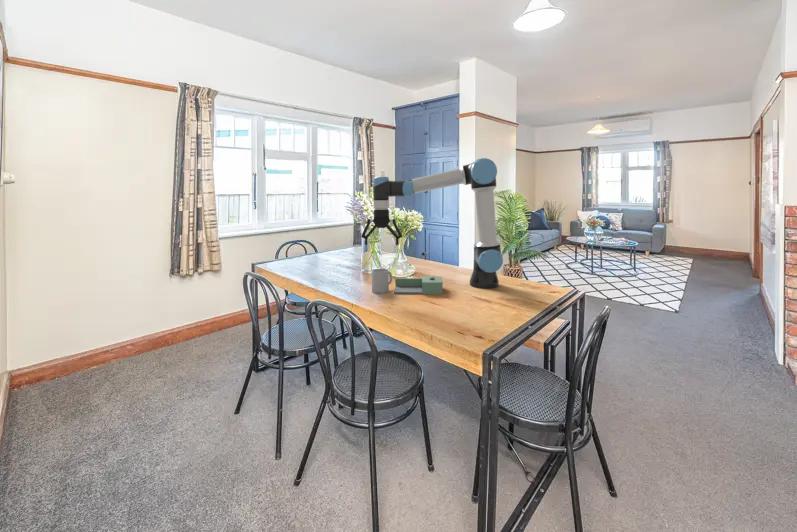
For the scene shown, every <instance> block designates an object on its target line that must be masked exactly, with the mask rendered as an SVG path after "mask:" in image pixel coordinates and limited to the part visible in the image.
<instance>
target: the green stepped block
mask: <svg viewBox="0 0 797 532" xmlns="http://www.w3.org/2000/svg"><path fill="white" fill-rule="evenodd" d="M442 278H443V277H442V276H433V275H432V276H430V275H429V276H426V275H425V276H424V275H423V276H422V277H415V278H414V277H410V278H409V277H406V278H405V277H395V280H394V281H395V283H394V284H395V285H394V290H393V295H443V287H444V286H443V279H442Z"/></svg>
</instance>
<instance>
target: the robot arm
mask: <svg viewBox="0 0 797 532" xmlns="http://www.w3.org/2000/svg"><path fill="white" fill-rule="evenodd" d="M497 175H498V167H497V165H496V163H495V162H494V161H493V160H491V159H489V158H488V157H487V158H486V157H481V158H477V159H476V160H475V161H473V162H471V163H469V164H465V165H462V166H460V167H459V168H457V169H452V170H447V171H442V172H438V173H434V174H430V175H425V176H420V177H415V178H412V179H406V180H390V179H389V176H375V177H373V184H372V185H373V186H372V190H373V209H374V210H373V219H372V218H367V220H366V221H367V222H366V225H365V228H364V229H363V232H362V233H361V236H360V237H361V238H363V239H364V246H366V247H367V249H366V250H367V251H366V252H367V253H370V251H371V249H370V246H371V245H370V238H369V237H370V236H371V234H372V233H373V232H374V231H375V229H387V231H389V232H390V233H391V234H392V235H393V237H394V253H397V246H399V243H400V242H399V240H400V238H401V239H402V238H403V234H402V233H401V231H400V229H399V226H398V225H397V221H396V218H392V219H390V209H389V208H390V201H389V200H390V198H391V197H392V198H394V197H397V198H398V197H401V198H408V197H413V196H414V194H419V193H423V192H429V191H434V190H439V189H443V188H447V187H453V186H457V185H458V186H459V185H462V184H463V185H464V186H467V185H471V186H470V187H471V191H473V192H474V195H475V197H474V198H475V208H476V210H475V211H476V220H477V222H476V223H477V235H478V241H477V242H474V245H473V270H472V273H471V276H470V278H469V286H471V287H474V288H478V289H494V288H498V287H499V283H500V281H499V278H498V275H497V271H499V270H500V269H501V267H502V266H503V264H504V257H503V255H502V250H501V242H500V241H498V237H497V225H496V213H495V212H496V210H495V209H496V208H495V195H494V194H495V193H494V190H495V188H497ZM372 223H373V224H374V225H373V226H372V228H371V229H370V231H369V232H368V233H367V231H368V229H369V227H370V226H371V224H372ZM390 223H391V224H392V225H393V226H394V229H395V231H394V229H393V228H392V227H391V226H390V225H389V224H390Z"/></svg>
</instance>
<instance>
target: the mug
mask: <svg viewBox="0 0 797 532" xmlns="http://www.w3.org/2000/svg"><path fill="white" fill-rule="evenodd" d="M392 280H393V274H392V272H391V271H389V269H387V268H374V269H372V270H371V291H372V293H374V294H387V293H389V291H390V289H389V288H390V287H389V286H390V284H391V283H392ZM386 292H387V293H386Z"/></svg>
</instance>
